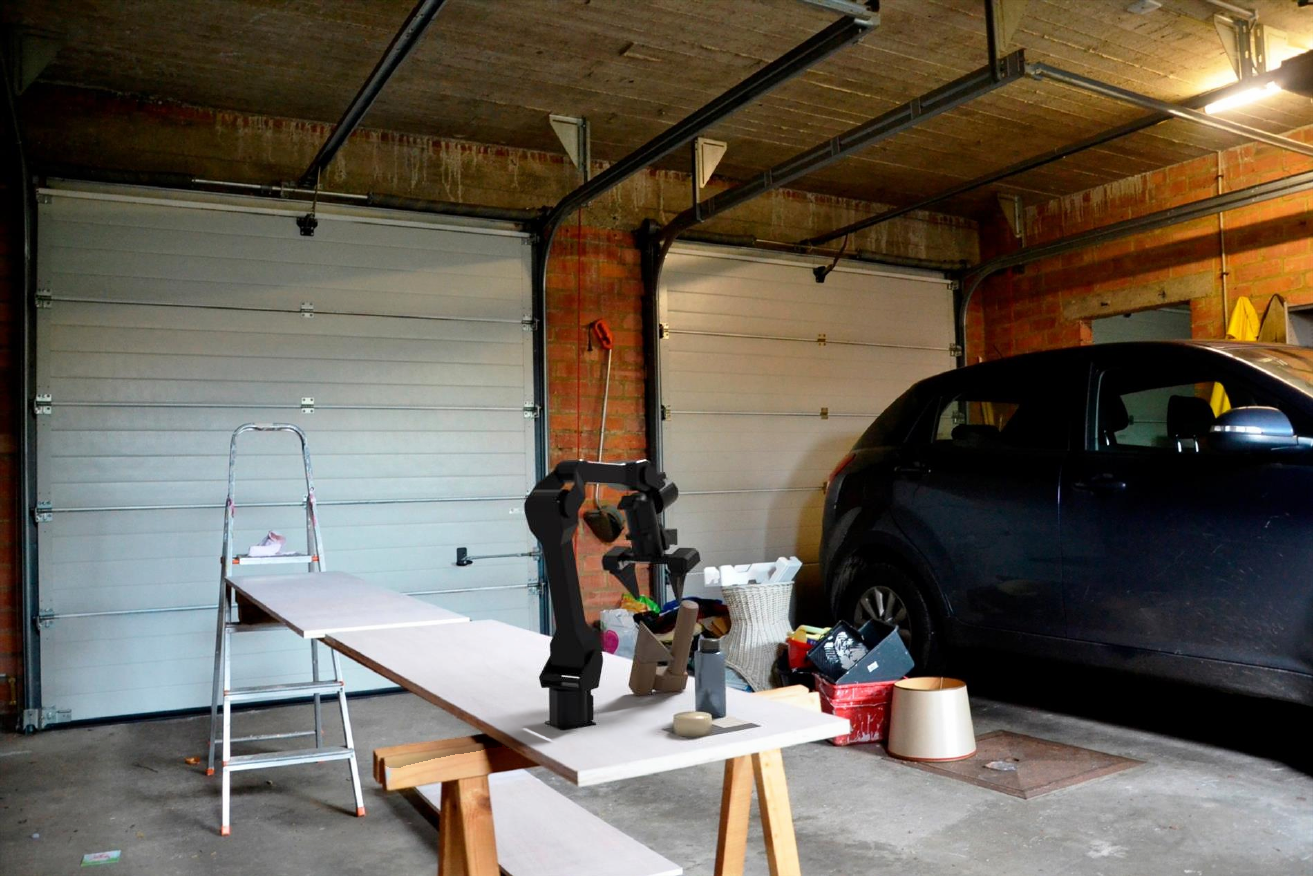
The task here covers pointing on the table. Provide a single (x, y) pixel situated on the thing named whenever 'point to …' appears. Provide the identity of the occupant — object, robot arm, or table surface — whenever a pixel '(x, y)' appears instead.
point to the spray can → (710, 678)
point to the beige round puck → (692, 724)
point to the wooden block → (663, 655)
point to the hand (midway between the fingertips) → (658, 600)
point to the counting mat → (722, 726)
